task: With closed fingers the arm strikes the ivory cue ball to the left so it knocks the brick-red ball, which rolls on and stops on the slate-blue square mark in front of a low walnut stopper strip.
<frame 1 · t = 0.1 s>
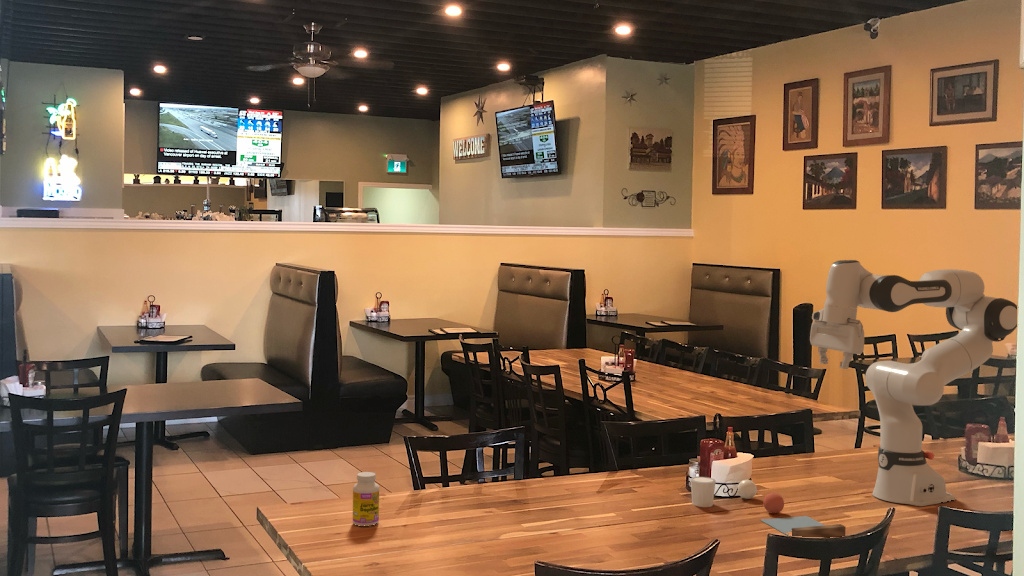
hand: (833, 366, 255), 39 cm above the table, tool pointing down, fingers open, 8 cm apart
stopper strip: (818, 537, 227), on the table
supplement bottle: (365, 524, 233), on the table
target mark: (798, 526, 235), on the table
cue ball: (747, 489, 260), on the table
red ball: (773, 503, 246), on the table
white cup: (702, 504, 254), on the table
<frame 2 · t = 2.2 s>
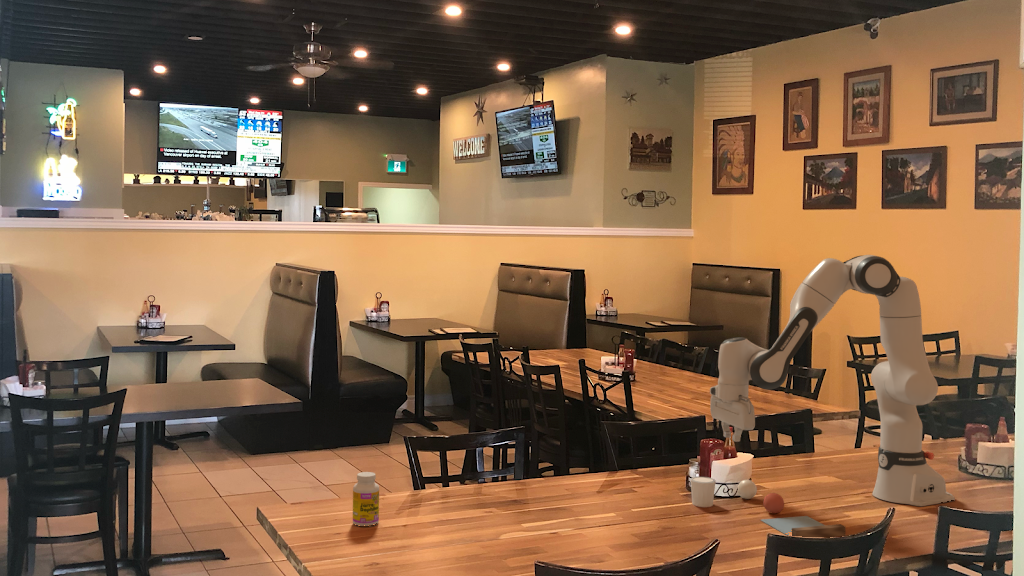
hand: (731, 439, 268), 15 cm above the table, tool pointing down, fingers open, 4 cm apart
nothing on the table moved.
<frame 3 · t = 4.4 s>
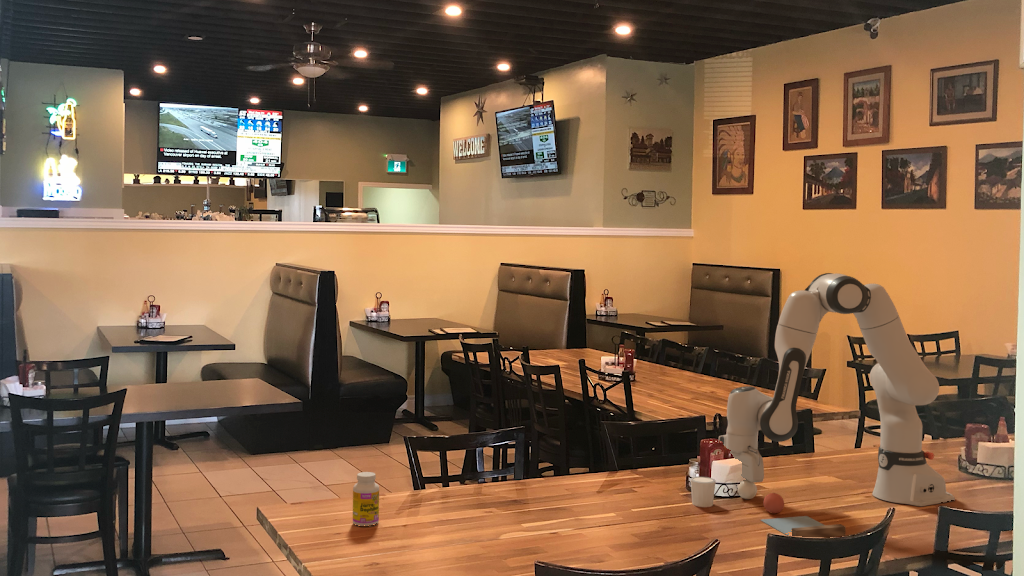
hand: (740, 489, 264), 1 cm above the table, tool pointing down, fingers closed
cue ball: (747, 489, 260), on the table, touching gripper
everything else where it was.
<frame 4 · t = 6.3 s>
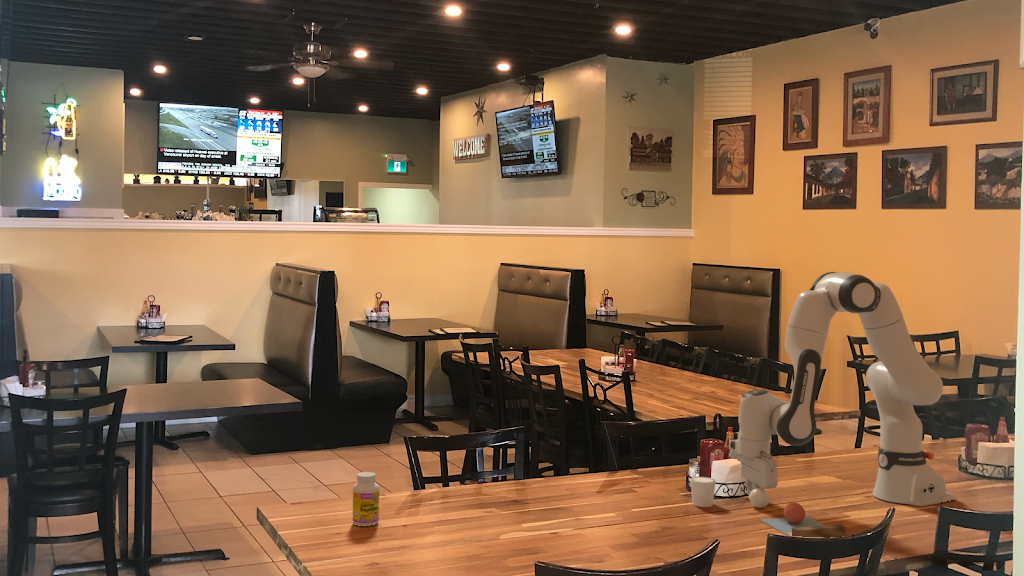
hand: (752, 496, 257), 2 cm above the table, tool pointing down, fingers closed
cue ball: (759, 497, 251), on the table
red ball: (794, 513, 238), on the table
everything else where it was.
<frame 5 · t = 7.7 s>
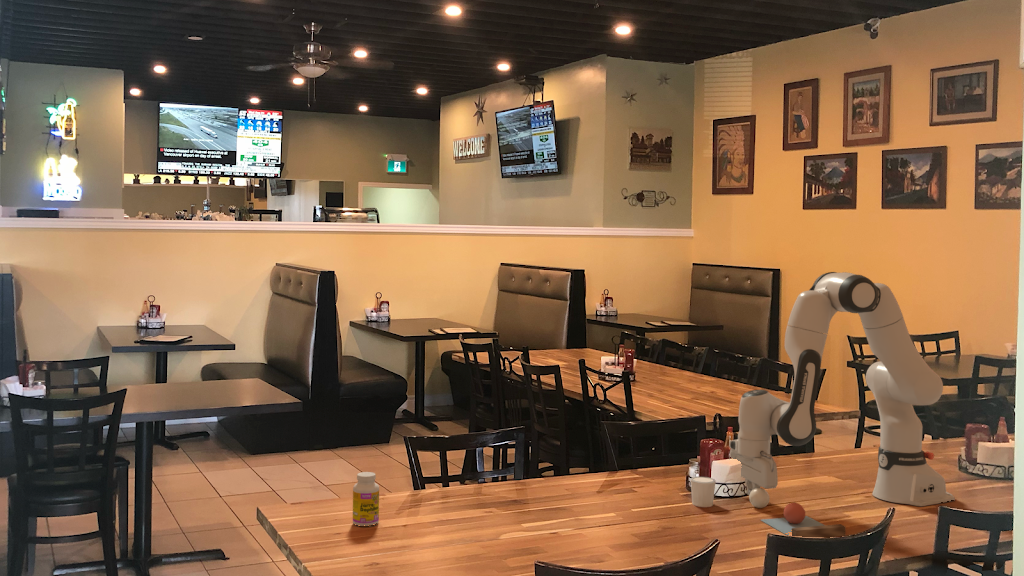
hand: (752, 496, 257), 2 cm above the table, tool pointing down, fingers closed
nothing on the table moved.
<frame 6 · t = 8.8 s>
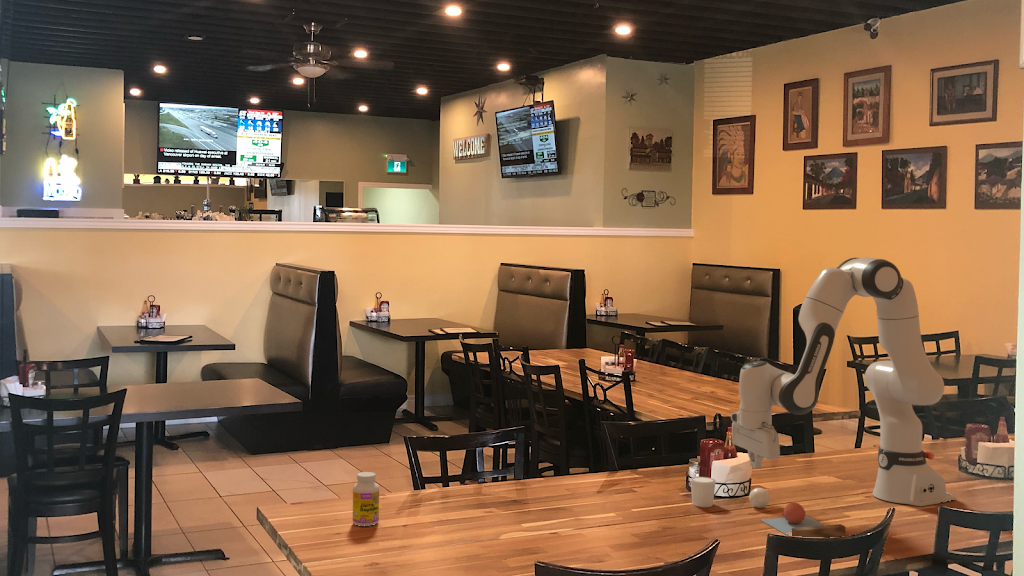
hand: (755, 467, 257), 10 cm above the table, tool pointing down, fingers closed
nothing on the table moved.
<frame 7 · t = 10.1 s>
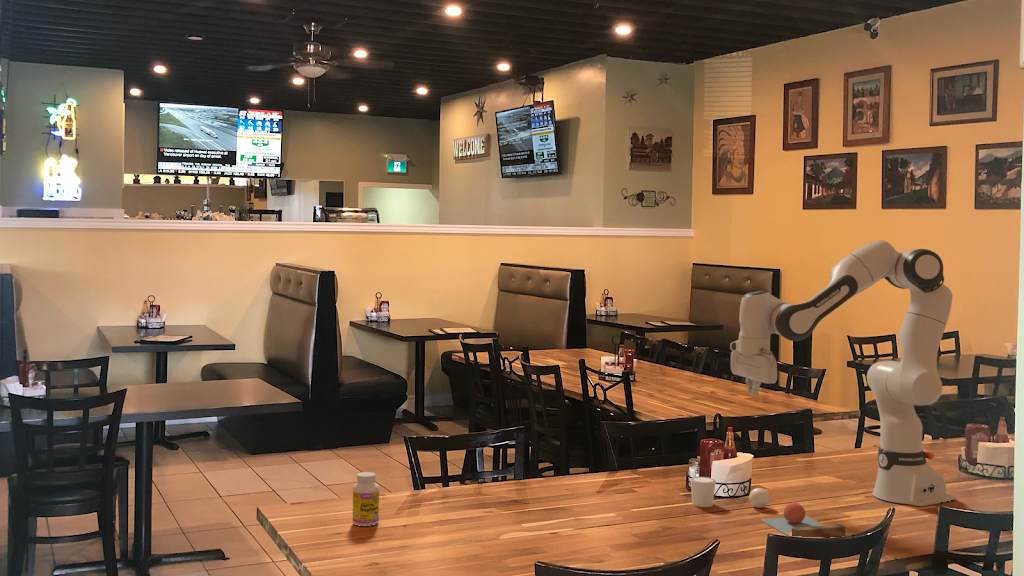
hand: (752, 394, 264), 29 cm above the table, tool pointing down, fingers closed
nothing on the table moved.
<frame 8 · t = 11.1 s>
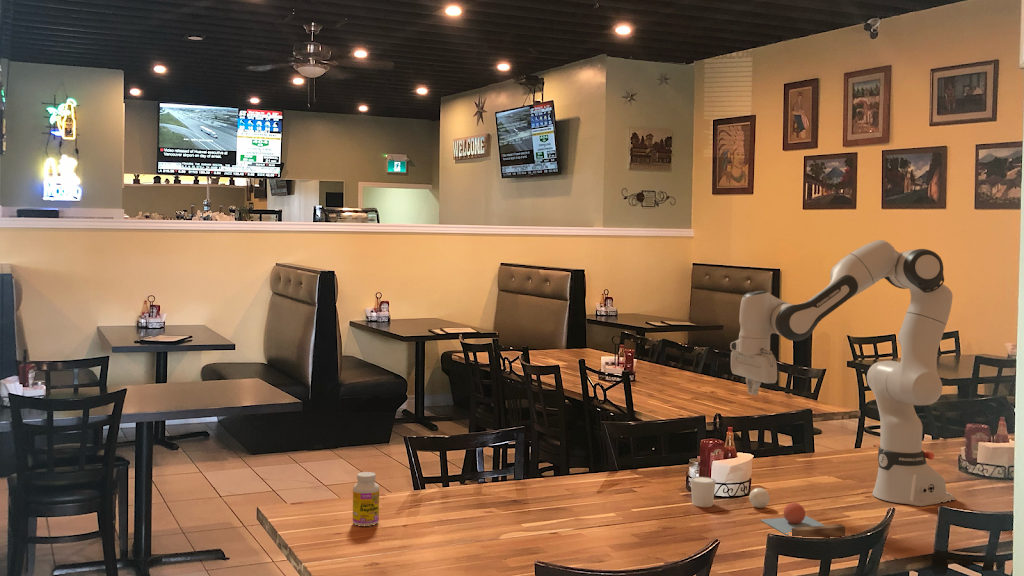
hand: (752, 394, 264), 29 cm above the table, tool pointing down, fingers closed
nothing on the table moved.
at the end: red ball 2.6 cm from the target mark (horizontally); red ball never touched the robot; cue ball first touched red ball at 4.8 s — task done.
